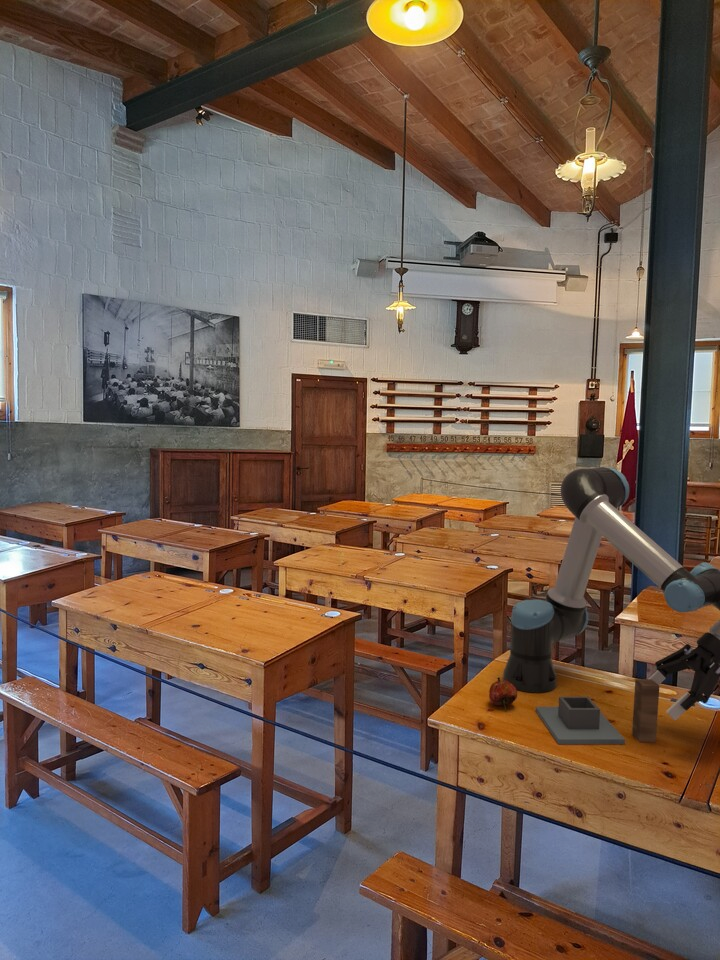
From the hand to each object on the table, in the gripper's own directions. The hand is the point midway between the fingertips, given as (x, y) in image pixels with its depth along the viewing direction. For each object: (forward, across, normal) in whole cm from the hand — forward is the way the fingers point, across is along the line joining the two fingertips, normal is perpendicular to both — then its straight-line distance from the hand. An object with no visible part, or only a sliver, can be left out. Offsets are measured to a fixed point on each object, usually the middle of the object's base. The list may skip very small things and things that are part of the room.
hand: (655, 703), depth 160 cm
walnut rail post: (+8, +1, -5) cm, 9 cm away
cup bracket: (+18, +7, +5) cm, 20 cm away
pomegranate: (+29, +19, +16) cm, 38 cm away
